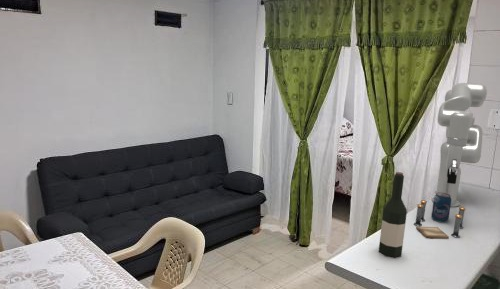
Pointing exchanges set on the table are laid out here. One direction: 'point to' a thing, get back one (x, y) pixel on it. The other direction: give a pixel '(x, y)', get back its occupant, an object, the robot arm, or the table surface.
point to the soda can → (441, 207)
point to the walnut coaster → (432, 232)
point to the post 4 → (461, 212)
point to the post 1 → (419, 215)
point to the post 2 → (423, 210)
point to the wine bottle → (393, 221)
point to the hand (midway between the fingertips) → (451, 180)
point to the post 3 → (456, 226)
